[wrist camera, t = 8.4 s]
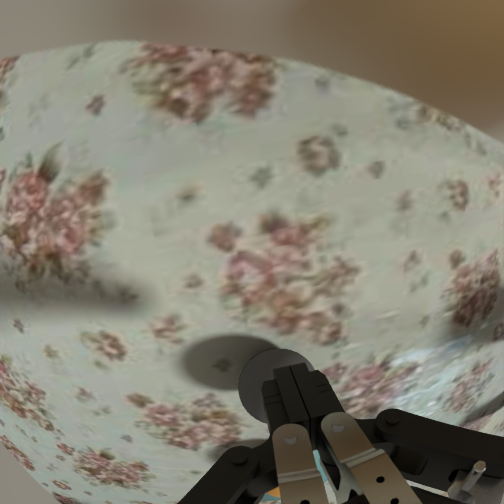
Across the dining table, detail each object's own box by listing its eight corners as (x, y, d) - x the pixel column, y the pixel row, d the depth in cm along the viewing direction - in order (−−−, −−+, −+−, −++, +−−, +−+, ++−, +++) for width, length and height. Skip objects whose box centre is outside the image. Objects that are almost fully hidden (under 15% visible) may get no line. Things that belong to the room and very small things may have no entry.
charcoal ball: (273, 350, 17) (258, 326, 22) (226, 422, 17) (222, 385, 22) (345, 384, 18) (318, 356, 23) (299, 448, 17) (282, 411, 23)
